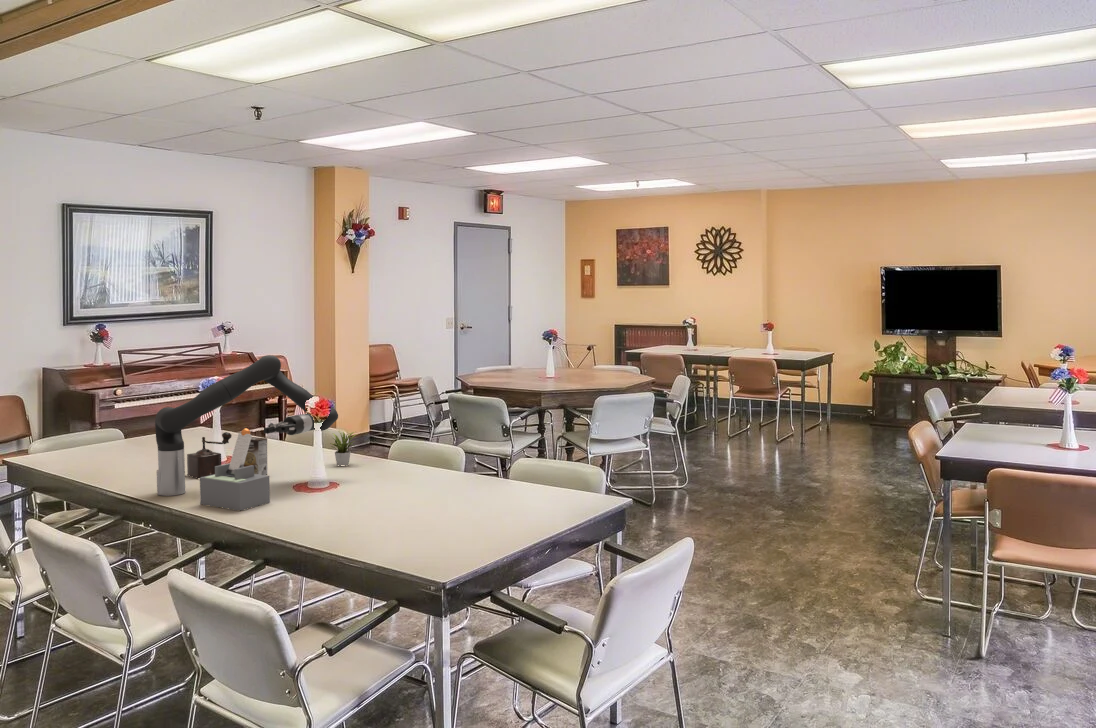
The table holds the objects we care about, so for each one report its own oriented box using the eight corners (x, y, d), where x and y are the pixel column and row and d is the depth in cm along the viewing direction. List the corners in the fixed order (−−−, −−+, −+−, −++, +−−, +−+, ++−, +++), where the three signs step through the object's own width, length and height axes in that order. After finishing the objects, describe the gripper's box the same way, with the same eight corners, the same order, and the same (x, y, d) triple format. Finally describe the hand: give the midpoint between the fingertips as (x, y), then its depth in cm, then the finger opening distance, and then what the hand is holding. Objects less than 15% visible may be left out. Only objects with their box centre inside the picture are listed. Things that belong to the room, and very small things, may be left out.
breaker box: (240, 511, 287) (239, 472, 286) (200, 504, 296) (199, 466, 295) (269, 502, 299) (269, 465, 298) (231, 496, 308) (230, 460, 307)
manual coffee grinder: (199, 479, 337) (198, 436, 336) (186, 475, 344) (185, 433, 343) (234, 473, 349) (233, 432, 348) (221, 469, 356) (220, 429, 355)
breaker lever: (236, 475, 294) (249, 428, 298) (224, 474, 296) (237, 426, 301) (242, 477, 296) (255, 430, 301) (231, 475, 299) (244, 429, 304)
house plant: (366, 462, 374) (365, 427, 373) (356, 468, 360) (355, 432, 359) (336, 461, 375) (335, 426, 374) (325, 467, 362) (324, 431, 360)
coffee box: (240, 476, 344) (239, 438, 343) (250, 473, 350) (249, 436, 349) (258, 477, 341) (257, 439, 340) (268, 474, 347) (267, 437, 346)
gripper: (285, 414, 327) (252, 420, 312) (310, 416, 321) (277, 422, 306) (285, 432, 328) (252, 439, 312) (310, 434, 322) (278, 441, 306)
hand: (265, 430), depth 309 cm, fingers closed
